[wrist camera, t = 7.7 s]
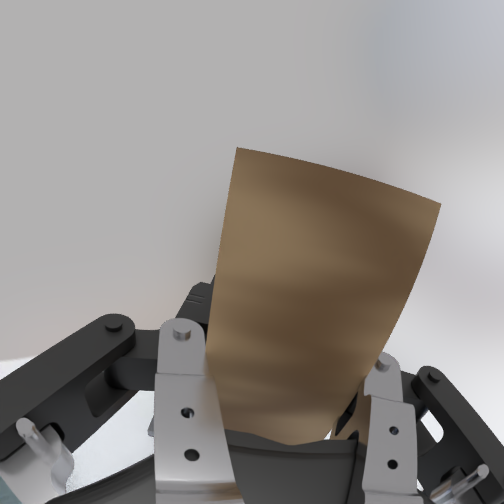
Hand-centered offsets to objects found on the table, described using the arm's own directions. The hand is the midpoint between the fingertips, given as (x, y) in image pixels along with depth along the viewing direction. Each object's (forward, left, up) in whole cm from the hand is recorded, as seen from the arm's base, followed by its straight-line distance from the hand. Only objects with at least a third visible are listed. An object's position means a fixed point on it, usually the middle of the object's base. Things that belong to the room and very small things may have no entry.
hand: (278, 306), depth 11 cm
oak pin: (0, -3, -8) cm, 8 cm away
